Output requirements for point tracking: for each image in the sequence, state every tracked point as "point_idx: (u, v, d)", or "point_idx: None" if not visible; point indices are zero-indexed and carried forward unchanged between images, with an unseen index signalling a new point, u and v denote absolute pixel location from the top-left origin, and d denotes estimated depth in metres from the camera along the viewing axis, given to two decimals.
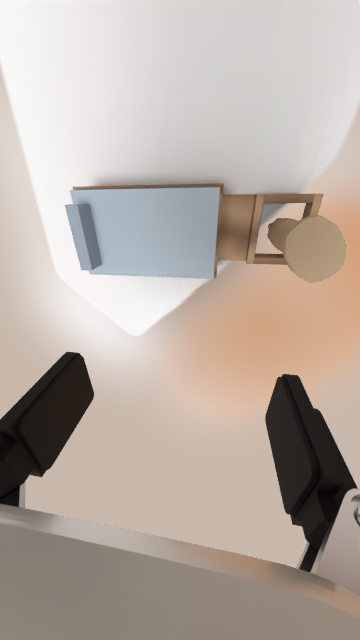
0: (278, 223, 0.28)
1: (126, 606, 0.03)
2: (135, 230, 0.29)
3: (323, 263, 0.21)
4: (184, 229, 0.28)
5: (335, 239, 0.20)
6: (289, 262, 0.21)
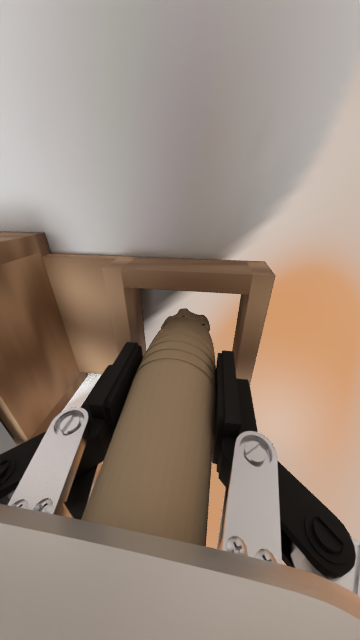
0: (147, 357, 0.10)
1: (126, 606, 0.03)
2: None
3: None
4: None
5: None
6: None
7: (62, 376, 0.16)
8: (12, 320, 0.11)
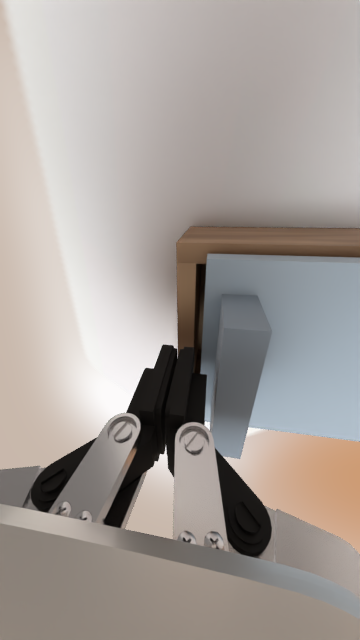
0: None
1: (126, 606, 0.03)
2: None
3: None
4: None
5: None
6: None
7: None
8: None
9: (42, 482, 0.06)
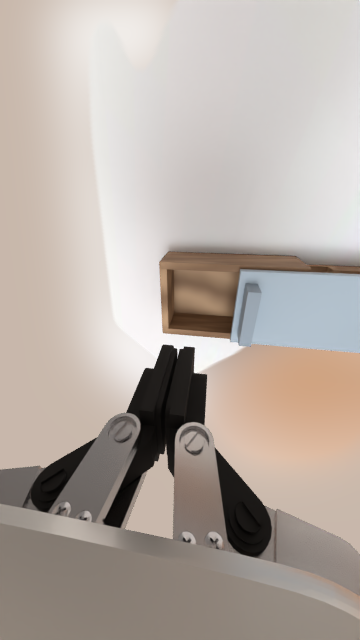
0: None
1: (126, 606, 0.03)
2: (297, 308, 0.29)
3: None
4: (353, 310, 0.28)
5: None
6: None
7: None
8: None
9: (42, 482, 0.06)
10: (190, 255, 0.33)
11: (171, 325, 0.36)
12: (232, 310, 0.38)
